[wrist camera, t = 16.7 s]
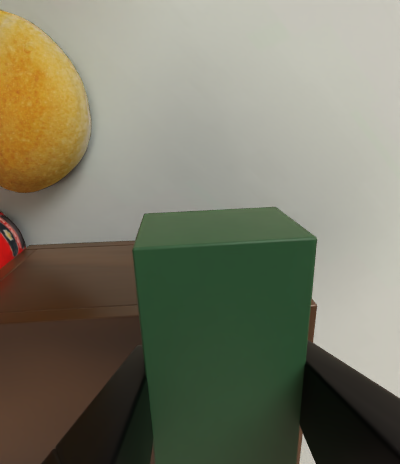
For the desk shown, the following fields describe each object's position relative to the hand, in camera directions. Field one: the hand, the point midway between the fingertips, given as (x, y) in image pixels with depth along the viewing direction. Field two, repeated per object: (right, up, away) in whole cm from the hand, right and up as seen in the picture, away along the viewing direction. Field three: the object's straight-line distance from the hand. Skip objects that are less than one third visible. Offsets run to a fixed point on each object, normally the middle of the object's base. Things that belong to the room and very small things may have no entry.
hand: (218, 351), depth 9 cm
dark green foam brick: (0, 0, +1) cm, 1 cm away
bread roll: (-11, +10, +9) cm, 17 cm away
